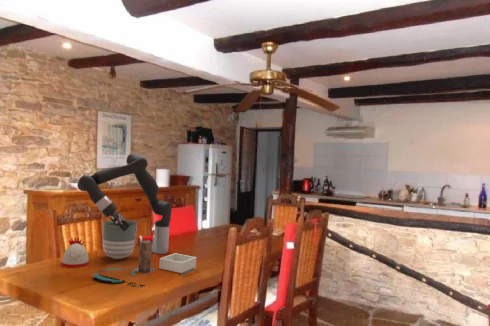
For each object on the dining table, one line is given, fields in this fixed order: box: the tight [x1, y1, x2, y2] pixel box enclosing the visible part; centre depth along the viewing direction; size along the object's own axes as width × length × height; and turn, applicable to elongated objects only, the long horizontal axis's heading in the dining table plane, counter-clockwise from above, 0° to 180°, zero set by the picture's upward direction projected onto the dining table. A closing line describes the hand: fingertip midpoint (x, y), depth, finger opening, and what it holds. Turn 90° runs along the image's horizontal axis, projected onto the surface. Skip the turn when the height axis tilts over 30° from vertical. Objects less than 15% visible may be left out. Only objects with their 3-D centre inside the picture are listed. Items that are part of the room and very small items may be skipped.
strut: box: [138, 241, 153, 271], centre depth 218 cm, size 4×4×15 cm
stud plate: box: [131, 267, 158, 275], centre depth 218 cm, size 10×10×5 cm
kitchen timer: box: [61, 236, 90, 268], centre depth 225 cm, size 14×14×15 cm
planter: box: [102, 219, 138, 260], centre depth 242 cm, size 20×20×21 cm
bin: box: [158, 252, 197, 277], centre depth 226 cm, size 15×15×7 cm
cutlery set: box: [92, 267, 146, 289], centre depth 205 cm, size 20×30×2 cm, turn 68°
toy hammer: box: [137, 234, 154, 246], centre depth 275 cm, size 23×12×6 cm, turn 30°
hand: (127, 228), depth 217 cm, fingers open, 8 cm apart
